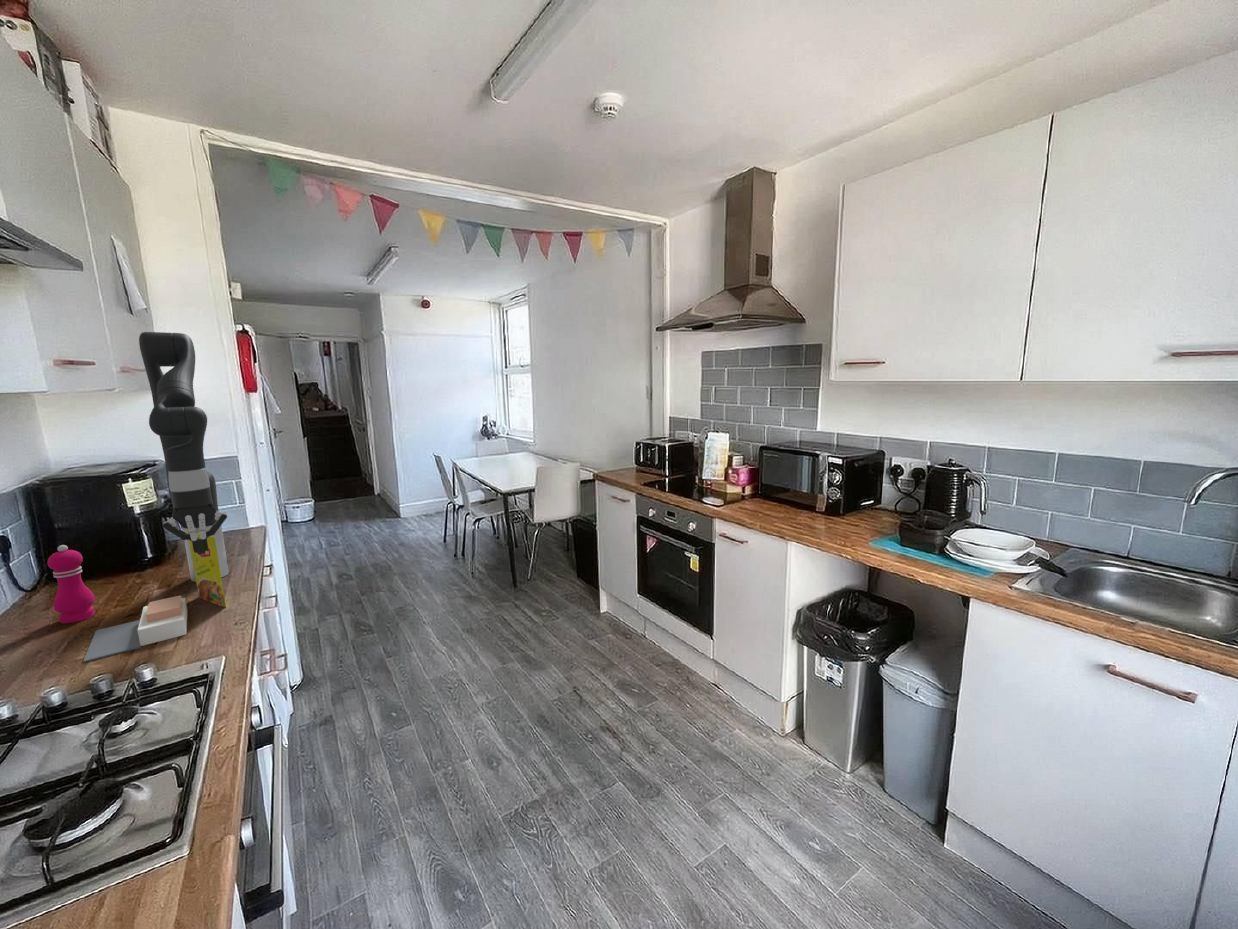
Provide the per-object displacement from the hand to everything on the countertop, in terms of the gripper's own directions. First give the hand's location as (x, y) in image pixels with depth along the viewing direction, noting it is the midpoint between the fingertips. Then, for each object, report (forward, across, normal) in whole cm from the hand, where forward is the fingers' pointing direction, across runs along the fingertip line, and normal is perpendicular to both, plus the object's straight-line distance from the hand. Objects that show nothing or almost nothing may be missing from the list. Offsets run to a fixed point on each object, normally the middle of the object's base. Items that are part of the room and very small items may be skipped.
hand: (201, 553), depth 125 cm
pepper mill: (+17, +27, -23) cm, 40 cm away
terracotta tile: (+13, +8, 0) cm, 16 cm away
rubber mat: (+17, +18, 0) cm, 25 cm away
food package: (+18, 0, -11) cm, 21 cm away
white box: (+17, +9, 0) cm, 20 cm away
